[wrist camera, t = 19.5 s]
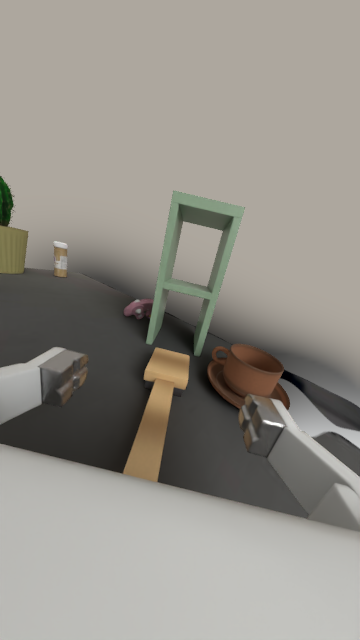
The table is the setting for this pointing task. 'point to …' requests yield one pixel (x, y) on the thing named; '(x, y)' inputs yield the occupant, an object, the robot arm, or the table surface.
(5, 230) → the potted cactus
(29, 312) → the table surface
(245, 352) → the cup and saucer
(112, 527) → the robot arm
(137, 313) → the video game controller
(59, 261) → the sprinkles bottle
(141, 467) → the desk brush
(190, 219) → the sage stand
